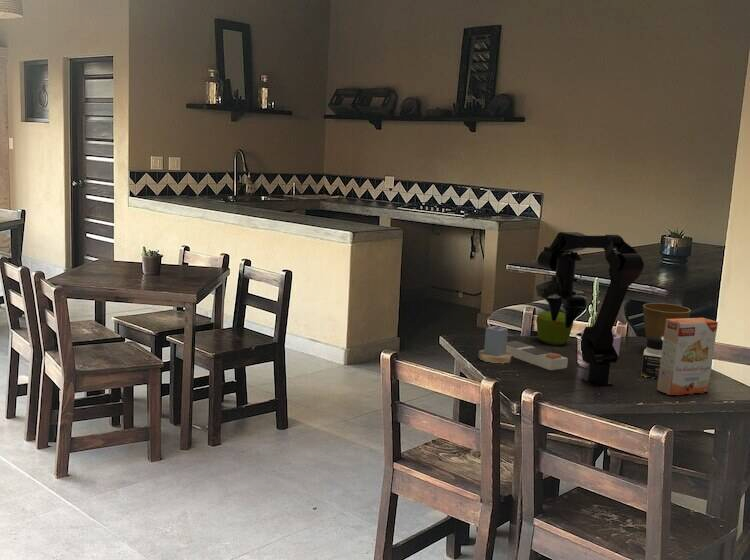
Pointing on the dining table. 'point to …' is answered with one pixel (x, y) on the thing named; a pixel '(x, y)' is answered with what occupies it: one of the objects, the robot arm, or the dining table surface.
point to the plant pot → (661, 316)
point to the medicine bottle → (652, 357)
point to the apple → (552, 328)
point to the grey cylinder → (495, 341)
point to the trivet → (495, 358)
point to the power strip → (536, 356)
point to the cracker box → (686, 356)
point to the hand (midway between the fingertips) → (560, 324)
